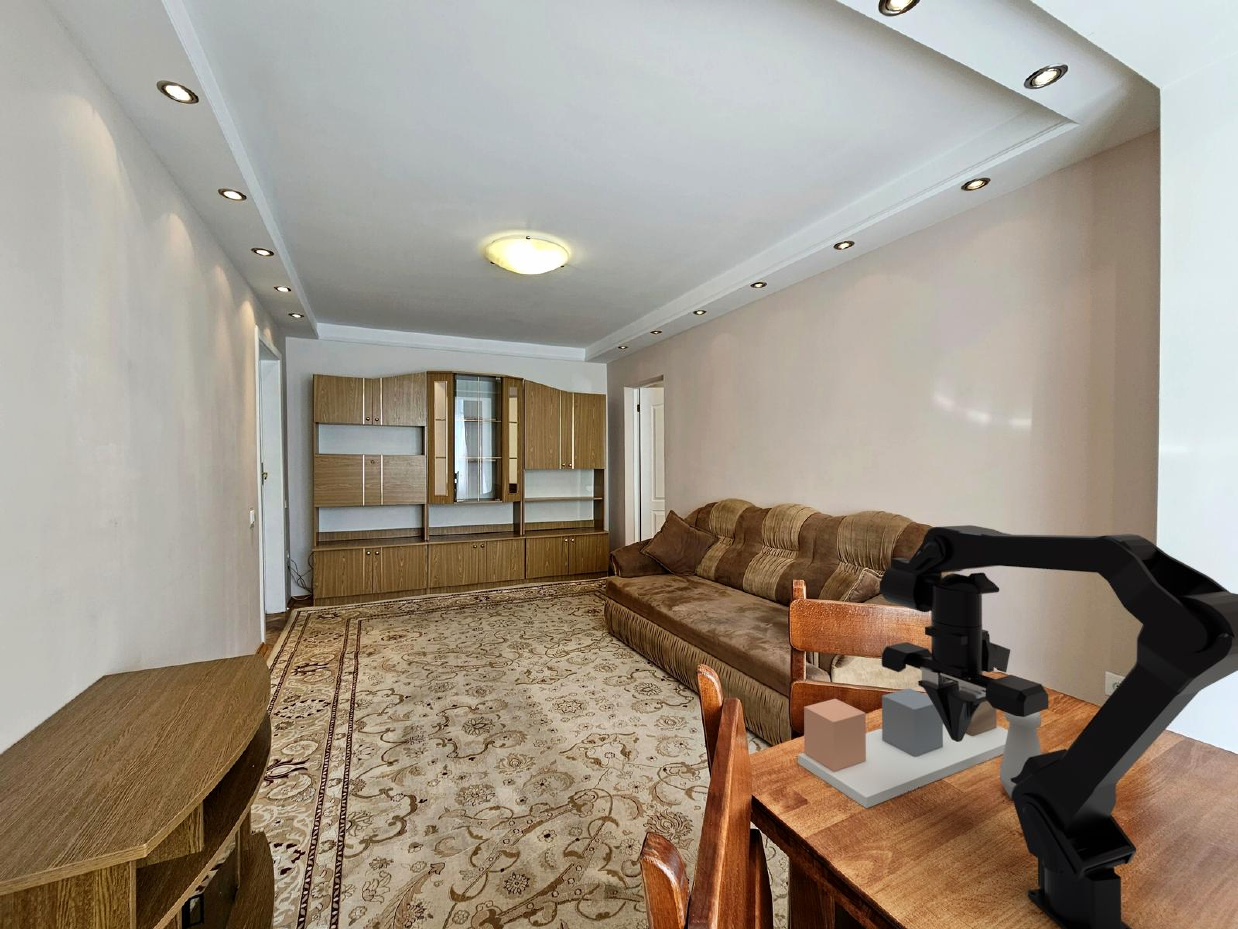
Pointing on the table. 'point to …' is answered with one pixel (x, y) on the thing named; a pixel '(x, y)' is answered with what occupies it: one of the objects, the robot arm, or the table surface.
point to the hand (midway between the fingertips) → (956, 740)
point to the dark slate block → (911, 722)
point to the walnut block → (982, 719)
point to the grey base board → (906, 765)
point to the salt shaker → (1019, 746)
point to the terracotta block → (835, 734)
